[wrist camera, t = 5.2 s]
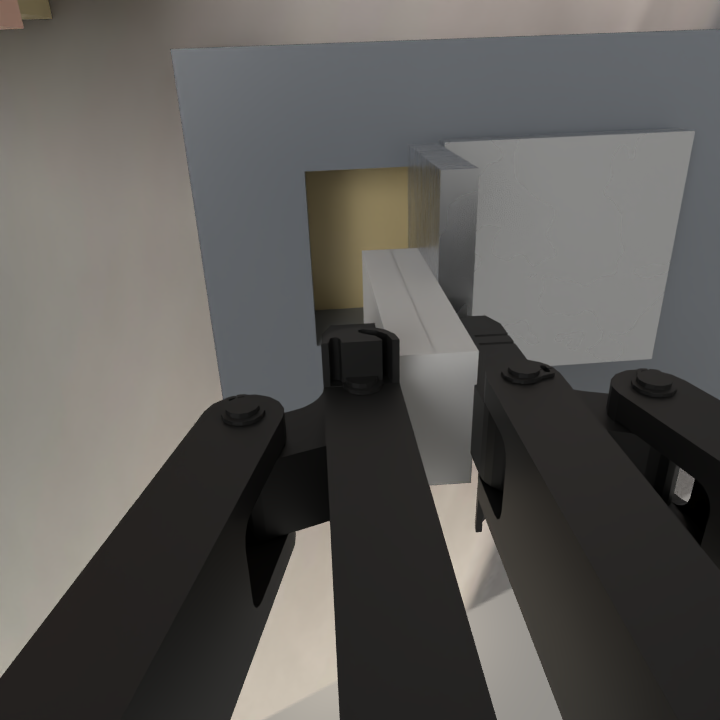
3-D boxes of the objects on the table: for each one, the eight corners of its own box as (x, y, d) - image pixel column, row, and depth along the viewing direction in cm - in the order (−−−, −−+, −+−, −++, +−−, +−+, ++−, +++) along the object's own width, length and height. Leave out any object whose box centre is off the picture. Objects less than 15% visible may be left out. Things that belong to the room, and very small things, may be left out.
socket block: (238, 389, 25) (228, 437, 21) (191, 50, 19) (170, 48, 16) (723, 355, 26) (781, 396, 23) (804, 28, 20) (894, 22, 17)
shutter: (404, 364, 20) (434, 454, 16) (403, 140, 17) (440, 170, 13) (639, 348, 21) (736, 431, 16) (679, 128, 18) (813, 151, 13)
